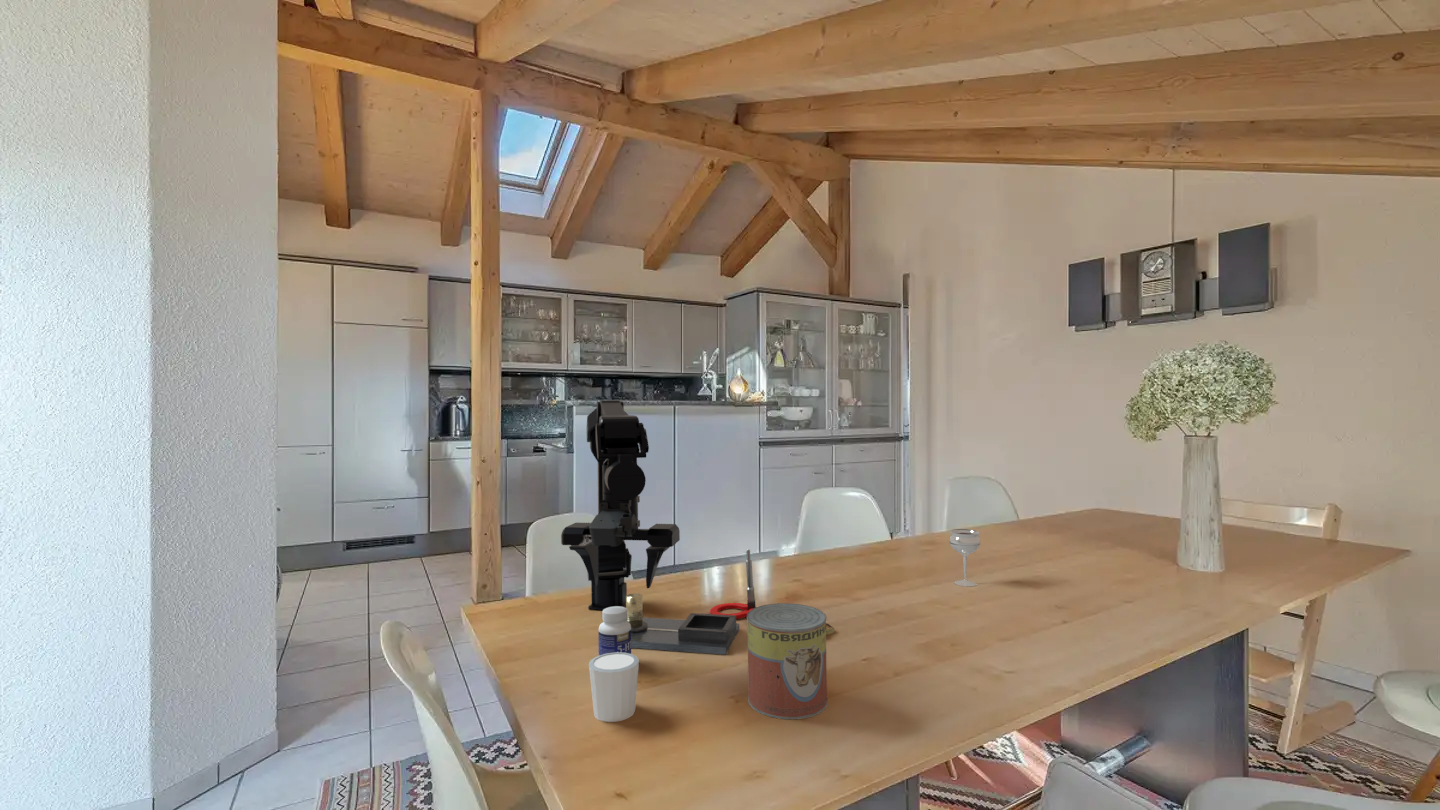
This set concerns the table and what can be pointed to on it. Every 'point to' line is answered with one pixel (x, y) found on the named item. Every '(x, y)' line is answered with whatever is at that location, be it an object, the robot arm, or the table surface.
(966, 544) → the wineglass
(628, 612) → the metal plate with knob
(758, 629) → the canned food
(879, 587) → the table surface
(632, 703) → the white cup
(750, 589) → the tow hook
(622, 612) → the pill bottle
